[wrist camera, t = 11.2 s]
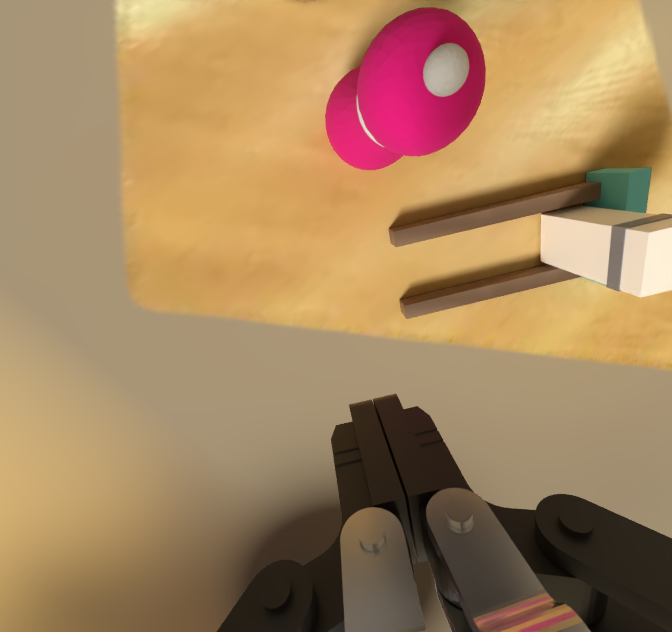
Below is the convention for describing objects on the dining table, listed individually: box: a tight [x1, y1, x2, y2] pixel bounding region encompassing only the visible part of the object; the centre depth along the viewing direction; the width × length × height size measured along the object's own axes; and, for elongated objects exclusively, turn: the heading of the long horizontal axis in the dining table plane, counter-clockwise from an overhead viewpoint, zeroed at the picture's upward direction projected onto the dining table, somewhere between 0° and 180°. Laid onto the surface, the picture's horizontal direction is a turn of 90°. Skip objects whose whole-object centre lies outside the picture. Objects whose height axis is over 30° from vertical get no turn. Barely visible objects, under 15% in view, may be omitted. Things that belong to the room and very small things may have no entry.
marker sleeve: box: [541, 205, 672, 297], centre depth 32 cm, size 5×4×12 cm
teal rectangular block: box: [583, 168, 652, 286], centre depth 36 cm, size 11×2×5 cm, turn 12°
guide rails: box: [389, 182, 601, 319], centre depth 37 cm, size 9×22×2 cm, turn 102°
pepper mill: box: [325, 8, 486, 170], centre depth 23 cm, size 7×7×20 cm
